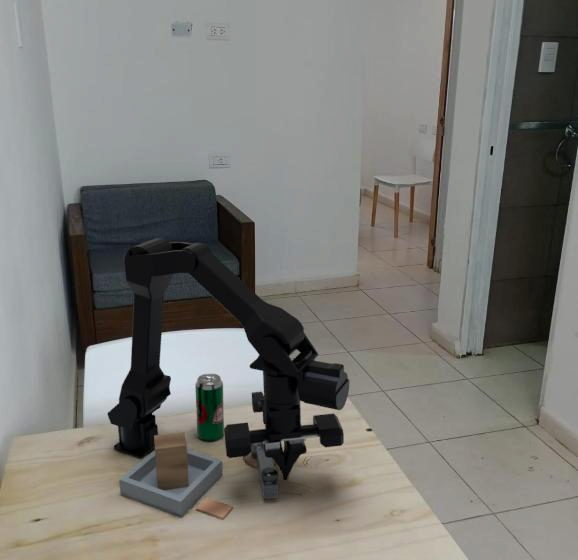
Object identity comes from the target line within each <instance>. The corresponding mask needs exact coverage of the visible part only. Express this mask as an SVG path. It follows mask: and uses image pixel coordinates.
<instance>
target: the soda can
mask: <svg viewBox="0 0 578 560" xmlns="http://www.w3.org/2000/svg"><path fill="white" fill-rule="evenodd" d="M221 378H222V377H221V375H219V374H217V373H204V374H201V375H199V376H198V377H197V378H196V379H197V380H196V382H195V384H194V385H195V388H194V389H195V406H196V408H195V410H196V434H197V436H198V437H199V438H200V439H201V440H203V441H205V442H214V441H217V440H219V439H221V438H222V437H223V435H224V428H225V423H224V422H225V421H224V420H225V419H224V418H225V416H224V414H225V412H224V382H223V381H222V379H221Z"/></svg>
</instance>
